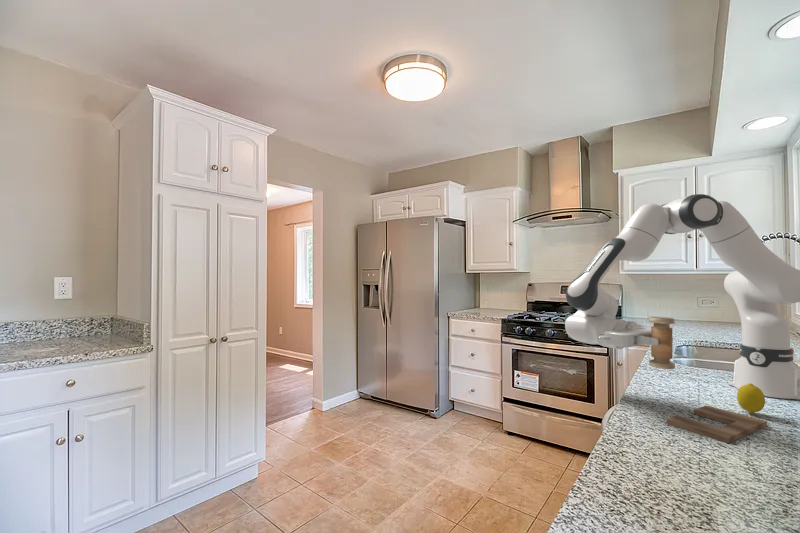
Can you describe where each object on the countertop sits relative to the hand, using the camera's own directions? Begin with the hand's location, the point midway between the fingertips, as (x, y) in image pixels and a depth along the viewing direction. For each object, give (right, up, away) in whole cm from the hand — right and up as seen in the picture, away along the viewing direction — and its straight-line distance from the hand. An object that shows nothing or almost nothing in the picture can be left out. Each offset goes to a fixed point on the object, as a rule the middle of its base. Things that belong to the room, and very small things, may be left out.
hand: (665, 341), depth 104 cm
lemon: (+21, -19, -2) cm, 29 cm away
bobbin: (0, -7, +1) cm, 7 cm away
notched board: (+6, -19, -10) cm, 22 cm away
